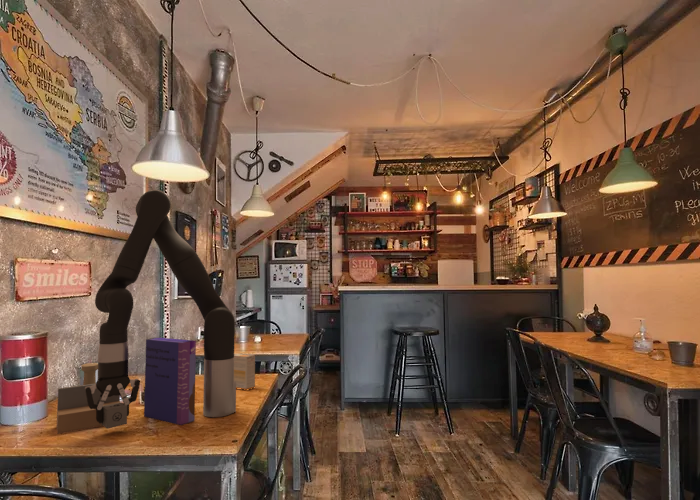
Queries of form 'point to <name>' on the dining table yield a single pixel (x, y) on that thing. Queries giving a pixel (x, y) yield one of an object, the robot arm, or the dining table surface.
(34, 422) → the dining table surface
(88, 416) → the board
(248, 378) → the supplement box
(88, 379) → the handle
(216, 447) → the dining table surface
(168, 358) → the cereal box
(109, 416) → the dice cube
